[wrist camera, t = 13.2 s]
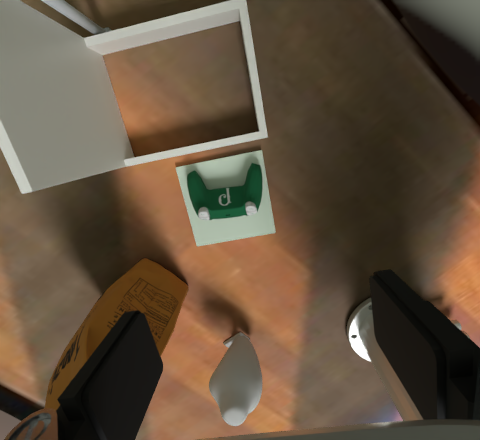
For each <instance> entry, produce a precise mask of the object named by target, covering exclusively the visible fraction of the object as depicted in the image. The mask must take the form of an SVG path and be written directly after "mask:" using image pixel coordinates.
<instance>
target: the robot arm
mask: <svg viewBox="0 0 480 440" xmlns="http://www.w3.org/2000/svg"><path fill="white" fill-rule="evenodd" d="M369 281H370V292H371V298H369V299H367V300H365V301H364V302H362V303H361V304H360V305H359V306H358V307H357V308H356V309H355V310H354V311H353V313H352V314H351V316H350V318H349V320H348V324H347V337H348V341H349V343H350V345H351V347H352V348H353V350H354V351H355V352H356V353H357V354H358V355H359V356H360V357H362V358H364V359H366V360H368V361H371V362H372V364H373V366H374V367H375V369H376V371H377V373H378V375H379V377H380V379H381V380H382V382H383V384H384V386H385V388H386V390H387V392H388V393H389V395H390V397H391V399H392V401H393V403H394V404H395V406H396V408H397V410H398V412H399V414H400V416H401V417H402V419H403V421H397V422H383V423H369V424H357V425H346V426H335V427H324V428H313V429H301V430H290V431H279V432H269V433H259V434H248V435H238V436H228V437H218V438H207V439H197V440H480V348H479V347H478V346H477V345H476V344H475V343H474V342H473V341H472V340H470V338H469V336H468V335H467V333H466V332H464V331H461V325H460V323H459V322H458V321H457V320H451V321H450V320H449V319H448V318H447V317H446V316H444V315H443V314H442V313H441V312H440V311H439V310H438V309H437V308H436V307H435V306H434V305H433V304H431V303H430V302H429V301H424V300H423V299H421V298H420V297H419V296H418V295H417V294H416V293H415V292H414V291H413V290H412V289H411V288H410V287H409V286H408V285H407V284H406V283H405V282H404V281H402V280H401V279H400V278H399V277H398V276H397V275H396V274H395V273H394V272H393V271H392V270H383V271H377V272H374V276H370V278H369ZM162 371H163V362H162V360H161V357H160V354H159V351H158V349H157V346H156V343H155V341H154V338H153V335H152V333H151V330H150V327H149V325H148V322H147V319H146V316H145V314H144V313H141V312H140V311H139V310H135V311H129V312H125V313H123V314H122V316H121V317H120V318H119V320H118V321H117V322H116V324H115V325H114V326H113V327H112V329H111V330H110V331H109V333H108V334H107V335H106V337H105V338H104V339H103V340H102V342H101V343H100V344H99V346H98V347H97V348H96V350H95V351H94V352H93V353H92V355H91V356H90V357H89V359H88V360H87V361H86V363H85V364H84V365H83V366H82V368H81V369H80V370H79V372H78V373H77V374H76V376H75V377H74V378H73V379H72V381H71V382H70V383H69V385H68V386H67V387H66V389H65V390H64V391H63V393H62V394H61V395H60V396H59V398H58V399H57V400H58V402H59V404H60V406H59V407H58V409H57V410H55V409H53V408H45V409H42V410H39V411H37V412H35V413H33V414H31V415H30V416H28V417H27V418H25V419H24V420H22V421H21V422H20V423H19V424H18V425H17V426H16V427H14V428H13V429H12V430H11V432H10V433H9V434H8V435H7V436H6V438H5V439H4V440H135V438H136V436H137V433H138V431H139V428H140V426H141V423H142V421H143V418H144V416H145V413H146V411H147V408H148V406H149V403H150V401H151V399H152V396H153V394H154V391H155V389H156V386H157V384H158V381H159V379H160V376H161V374H162Z"/></svg>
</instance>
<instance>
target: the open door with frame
mask: <svg viewBox="0 0 480 440" xmlns="http://www.w3.org/2000/svg"><path fill="white" fill-rule="evenodd" d="M41 1H43V2H44V3H46V4H48V5H49V6H51V7H52V8H54V9H55V10H57V11H58V12H60V13H62V14H63V15H65V16H66V17H68V18H69V19H71V20H72V21H74V22H76V23H77V24H79V25H80V26H82V27H83V28H85V29H86V30H88V31H89V32H91V33H93V34H94V36H90V37H86V38H83V37H81V36H80V35H78V34H76V33H75V32H73V31H71V30H69V29H68V28H66V27H64V26H63V25H61V24H59V23H57V22H56V21H54V20H52V19H51V18H49V17H47V16H45V15H44V14H42V13H40V12H39V11H37V10H35V9H33V8H32V7H30V6H28V5H27V4H25V3H23V2H21V1H20V0H0V148H1V150H2V152H3V154H4V156H5V158H6V160H7V163H8V165H9V167H10V169H11V171H12V173H13V176H14V178H15V180H16V182H17V184H18V186H19V188H20V191H21V193H22V194H24V193H28V192H33V191H37V190H41V189H44V188H48V187H52V186H56V185H59V184H63V183H67V182H71V181H74V180H78V179H82V178H85V177H89V176H93V175H97V174H100V173H104V172H108V171H112V170H115V169H119V168H123V167H126V166H131V165H136V164H141V163H146V162H151V161H156V160H160V159H165V158H170V157H175V156H180V155H185V154H189V153H194V152H199V151H204V150H209V149H214V148H218V147H223V146H228V145H233V144H238V143H243V142H248V141H252V140H257V139H262V138H267V137H268V135H267V129H266V123H265V116H264V110H263V104H262V97H261V91H260V85H259V78H258V72H257V66H256V60H255V53H254V47H253V41H252V34H251V28H250V22H249V15H248V9H247V3H246V0H230V1H226V2H222V3H218V4H214V5H210V6H207V7H203V8H199V9H195V10H191V11H187V12H183V13H179V14H175V15H172V16H168V17H164V18H160V19H156V20H152V21H148V22H144V23H140V24H137V25H133V26H129V27H125V28H121V29H117V30H113V31H112V30H111V29H110V28H108V27H107V28H102V27H100V26H99V25H97V24H96V23H95V22H93V21H92V20H90V19H89V18H88V17H86V16H85V15H84V14H82V13H81V12H79V11H78V10H77V9H75V8H74V7H73V6H71V5H70V4H68V3H67V2H66V1H64V0H41ZM238 21H240V24H241V30H242V36H243V42H244V48H245V54H246V60H247V66H248V72H249V78H250V84H251V90H252V96H253V102H254V108H255V114H256V120H257V126H258V132H254V133H249V134H245V135H240V136H235V137H230V138H225V139H221V140H216V141H211V142H206V143H202V144H197V145H192V146H187V147H182V148H178V149H173V150H168V151H163V152H158V153H154V154H149V155H144V156H139V157H134V154H133V151H132V148H131V145H130V141H129V138H128V135H127V132H126V129H125V126H124V122H123V119H122V116H121V113H120V110H119V107H118V103H117V100H116V97H115V94H114V91H113V88H112V84H111V81H110V78H109V75H108V72H107V68H106V65H105V62H104V59H103V56H102V55H105V54H109V53H113V52H117V51H121V50H125V49H129V48H133V47H137V46H141V45H145V44H149V43H153V42H157V41H161V40H165V39H169V38H173V37H177V36H181V35H185V34H189V33H193V32H197V31H201V30H205V29H209V28H213V27H218V26H222V25H226V24H230V23H234V22H238Z"/></svg>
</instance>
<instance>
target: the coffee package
mask: <svg viewBox="0 0 480 440" xmlns="http://www.w3.org/2000/svg"><path fill="white" fill-rule="evenodd" d="M187 292H188V286H187V284H186V283H184V282H183V281H181V280H180V279H179V278H178V277H177V276H175V275H174V274H173V273H171V272H170V271H168V270H166V269H165V268H163V267H162V266H161V265H159V264H158V263H156V262H153V261H151V260H149V259H147V258H144V259H142V260H140V261H139V262H138V263H137V264H136V265H135V266H134V267H132V268H131V269H130V270H129V271H128V272H126V273H125V274H124V275H123V276H122V277H120V278H119V279H118V280H117V281H116V282H115V283H113V284H112V285H111V286H110V287H109V288H108V289H107V290H106V291H105V292H104V293H103V295H102V296H101V297H100V298H99V299H98V301H97V302H96V303H95V305H94V306H93V308H92V309H91V311H90V312H89V314H88V315H87V317H86V318H85V320H84V322H83V323H82V325H81V326H80V327H79V329H78V330H77V332H76V333H75V335H74V336H73V338H72V339H71V341H70V342H69V344H68V345H67V347H66V348H65V350H64V352H63V354H62V356H61V358H60V360H59V362H58V364H57V366H56V368H55V370H54V372H53V375H52V377H51V379H50V382H49V386H48V391H47V397H46V403H45V408H53V409H55V410H57V409H58V407H59V406H60V404H59V402H58V400H57V399H58V398H59V396H60V395H61V394H62V393H63V391H64V390H65V389H66V387H67V386H68V385H69V383H70V382H71V381H72V379H73V378H74V377H75V376H76V374H77V373H78V372H79V370H80V369H81V368H82V366H83V365H84V364H85V363H86V361H87V360H88V359H89V357H90V356H91V355H92V353H93V352H94V351H95V350H96V348H97V347H98V346H99V344H100V343H101V342H102V340H103V339H104V338H105V337H106V335H107V334H108V333H109V331H110V330H111V329H112V327H113V326H114V325H115V324H116V322H117V321H118V320H119V318H120V317H121V316H122V314H123V313H125V312H129V311H135V310H139V311H140V312H141V313H144V314H145V316H146V319H147V322H148V325H149V327H150V330H151V333H152V335H153V338H154V341H155V343H156V346H157V349H158V351H159V354H160V356H161V354H162V353H163V351H164V349H165V347H166V345H167V343H168V341H169V339H170V337H171V335H172V333H173V331H174V328H175V324H176V321H177V318H178V315H179V313H180V310H181V306H182V303H183V301H184V299H185V297H186V295H187Z"/></svg>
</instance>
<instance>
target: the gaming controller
mask: <svg viewBox="0 0 480 440" xmlns="http://www.w3.org/2000/svg"><path fill="white" fill-rule="evenodd" d="M187 187H188V192H189V196H190V199H191V202H192V205H193V208H194V210H195V212H196V214H197V216H198V217H199V218H200V219H201V220H212V219H224V218H232V217H240V216H244V215H246V216H248V215H253V214H255V213H257V212H258V209H259V206H260V203H261V198H262V190H263V180H262V170H261V166H260V165H258V164H254V163H252V164H251V166H250V167H249V169H248V172H247V176H246V180H245V183H244V185H243V186H234V187H225V188H217V189H211V190H209V189H207V188H206V186H205V184H204V182H203V180H202V178H201V177H200V175H199V174H198V173H197V172H196V171H195V170H194V171H192V172H190V173H189V174H188V175H187Z"/></svg>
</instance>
